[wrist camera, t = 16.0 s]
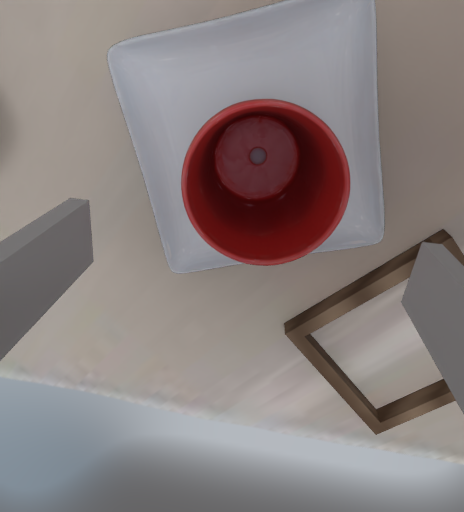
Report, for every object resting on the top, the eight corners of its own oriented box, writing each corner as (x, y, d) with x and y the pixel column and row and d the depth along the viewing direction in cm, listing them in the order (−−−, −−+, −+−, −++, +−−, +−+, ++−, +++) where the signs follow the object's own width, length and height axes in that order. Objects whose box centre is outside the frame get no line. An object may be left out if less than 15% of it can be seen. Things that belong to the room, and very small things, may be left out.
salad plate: (365, -17, 30) (376, -27, 27) (377, 231, 39) (387, 245, 35) (114, 47, 33) (98, 45, 30) (178, 262, 42) (171, 277, 39)
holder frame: (443, 229, 37) (452, 237, 35) (523, 354, 43) (534, 366, 41) (284, 323, 44) (285, 334, 42) (371, 421, 49) (375, 434, 47)
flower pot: (292, 61, 29) (317, 63, 21) (335, 187, 34) (371, 231, 25) (171, 122, 31) (148, 146, 23) (227, 233, 36) (226, 288, 27)
